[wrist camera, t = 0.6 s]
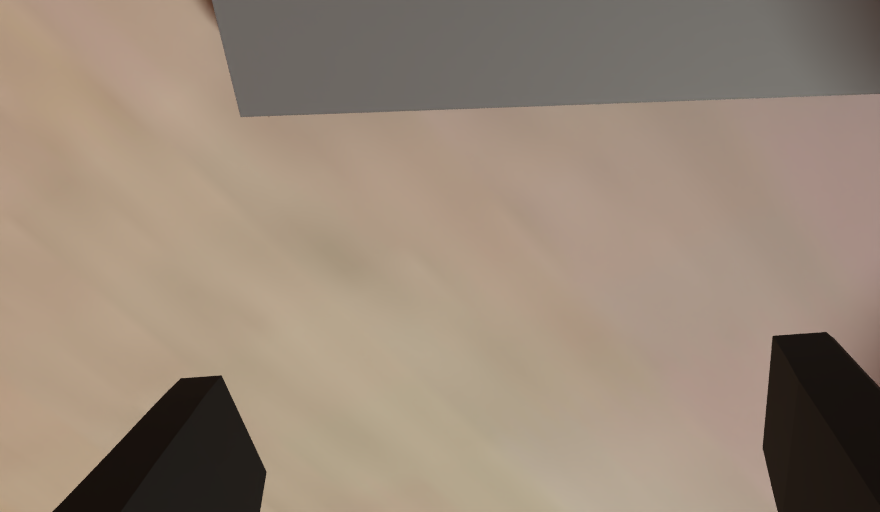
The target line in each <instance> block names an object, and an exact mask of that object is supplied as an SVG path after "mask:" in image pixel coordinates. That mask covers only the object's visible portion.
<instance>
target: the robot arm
mask: <svg viewBox="0 0 880 512" xmlns="http://www.w3.org/2000/svg"><path fill="white" fill-rule="evenodd" d="M763 451H764V455H765V460H766V464H767V468H768V473H769V477H770V481H771V486H772V490H773V494H774V498H775V502H776V506H777V510H778V512H880V387H879V386H878V385H877V384H876V383H875V382H874V381H873V380H872V379H871V378H870V377H869V376H868V375H867V373H866V372H865V371H864V370H863V369H862V368H861V367H860V366H859V365H858V364H857V363H856V362H855V361H854V360H853V358H852V357H851V356H850V355H849V354H848V353H847V352H846V351H845V350H844V349H843V348H842V346H841V345H840V344H839V343H838V342H837V341H836V340H835V339H834V338H833V337H832V336H830V335H829V334H828V333H827V332H821V333H807V334H793V335H779V336H773V339H772V350H771V361H770V373H769V384H768V395H767V406H766V417H765V428H764V439H763ZM265 478H266V470H265V468H264V466H263V463H262V461H261V459H260V457H259V455H258V453H257V451H256V448H255V446H254V444H253V442H252V440H251V438H250V436H249V433H248V431H247V429H246V427H245V425H244V423H243V421H242V418H241V416H240V414H239V412H238V410H237V408H236V406H235V403H234V401H233V399H232V397H231V395H230V393H229V391H228V388H227V386H226V384H225V382H224V380H223V378H222V376H208V377H194V378H181V379H180V380H179V381H178V382H177V383H176V384H175V385H174V386H173V387H172V388H171V389H170V390H168V391H167V393H166V394H165V395H164V396H163V397H162V398H161V399H160V400H159V401H158V402H157V403H156V404H155V405H154V406H153V407H152V408H151V409H150V410H149V411H148V412H147V413H146V414H145V415H144V416H143V418H142V419H141V420H140V421H139V422H138V423H137V424H136V425H135V426H134V427H133V428H132V429H131V430H130V431H129V432H128V433H127V435H126V436H125V437H124V438H123V439H122V440H121V441H120V442H119V443H118V444H117V445H116V446H115V447H114V448H113V449H112V451H111V452H110V453H109V454H108V455H107V456H106V457H105V458H104V459H103V460H102V461H101V462H100V463H99V464H98V465H97V466H96V467H95V468H94V469H93V470H92V471H91V472H90V474H89V475H88V476H87V477H86V478H85V479H84V480H83V481H82V482H81V483H80V484H79V485H78V486H77V487H76V488H75V489H74V490H73V491H72V492H71V493H70V494H69V495H68V496H67V497H66V499H65V500H64V501H63V502H62V503H61V504H60V505H59V506H58V507H57V508H56V509H55V510H54V511H53V512H260V508H261V502H262V496H263V490H264V484H265Z"/></svg>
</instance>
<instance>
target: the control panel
mask: <svg viewBox="0 0 880 512" xmlns="http://www.w3.org/2000/svg"><path fill="white" fill-rule="evenodd" d="M212 3H213V7H214V11H215V15H216V19H217V23H218V27H219V31H220V36H221V40H222V44H223V48H224V52H225V56H226V60H227V64H228V68H229V72H230V76H231V80H232V84H233V88H234V92H235V96H236V100H237V104H238V108H239V112H240V116H241V117H254V116H282V115H309V114H337V113H364V112H392V111H419V110H446V109H474V108H501V107H529V106H556V105H584V104H611V103H639V102H666V101H694V100H721V99H749V98H776V97H804V96H831V95H859V94H880V0H212Z"/></svg>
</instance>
